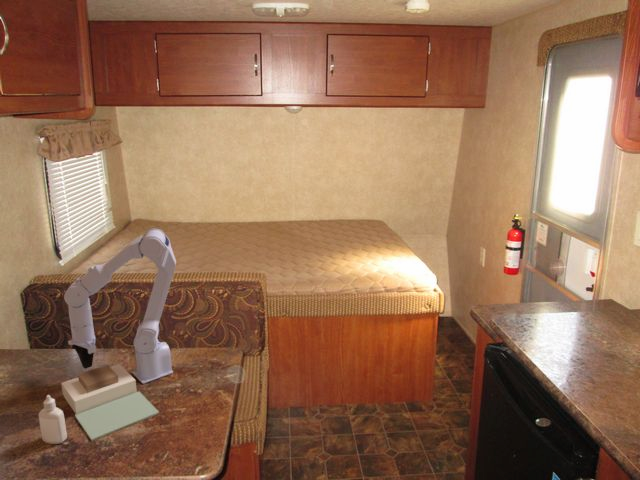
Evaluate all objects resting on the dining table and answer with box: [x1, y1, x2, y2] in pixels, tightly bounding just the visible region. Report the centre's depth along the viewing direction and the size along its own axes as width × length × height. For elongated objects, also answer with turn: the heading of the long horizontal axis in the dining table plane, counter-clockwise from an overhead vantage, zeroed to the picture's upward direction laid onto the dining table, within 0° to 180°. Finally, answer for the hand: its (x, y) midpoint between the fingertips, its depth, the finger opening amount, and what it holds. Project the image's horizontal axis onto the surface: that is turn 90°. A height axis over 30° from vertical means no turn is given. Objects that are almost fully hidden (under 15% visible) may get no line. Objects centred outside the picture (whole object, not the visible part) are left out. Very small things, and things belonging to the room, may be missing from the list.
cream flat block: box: [61, 363, 138, 415], centre depth 141 cm, size 16×12×4 cm
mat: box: [74, 391, 160, 442], centre depth 132 cm, size 17×13×1 cm
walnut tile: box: [77, 364, 118, 393], centre depth 140 cm, size 8×8×2 cm
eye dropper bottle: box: [38, 394, 68, 445], centre depth 121 cm, size 4×6×12 cm
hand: (87, 366), depth 147 cm, fingers closed
